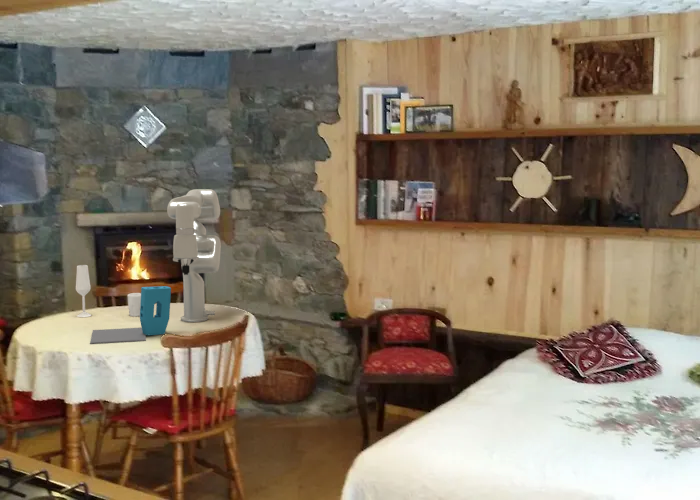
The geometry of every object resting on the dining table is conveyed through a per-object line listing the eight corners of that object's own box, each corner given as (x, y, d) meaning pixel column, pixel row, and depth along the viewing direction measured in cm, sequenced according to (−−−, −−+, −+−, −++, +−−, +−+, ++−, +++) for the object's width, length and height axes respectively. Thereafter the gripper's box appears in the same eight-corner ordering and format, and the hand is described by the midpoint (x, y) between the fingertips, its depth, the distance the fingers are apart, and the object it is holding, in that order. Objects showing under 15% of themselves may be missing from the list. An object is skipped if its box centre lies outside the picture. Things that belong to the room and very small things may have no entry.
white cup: (148, 314, 365) (148, 294, 364) (136, 317, 359) (135, 296, 357) (137, 312, 369) (136, 292, 368) (124, 315, 363) (123, 294, 361)
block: (143, 335, 322) (145, 289, 320) (138, 333, 326) (140, 287, 323) (169, 333, 330) (171, 288, 327) (164, 330, 333) (166, 286, 331)
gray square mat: (145, 328, 337) (145, 327, 337) (145, 340, 316) (145, 339, 316) (92, 331, 331) (92, 330, 331) (90, 344, 310) (90, 342, 310)
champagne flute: (86, 317, 357) (84, 267, 354) (73, 316, 359) (71, 266, 356) (94, 314, 364) (92, 265, 360) (82, 313, 365) (80, 264, 362)
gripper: (202, 230, 331) (202, 272, 333) (166, 231, 327) (167, 273, 329) (203, 232, 324) (204, 275, 326) (167, 233, 320) (168, 276, 322)
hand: (185, 274), depth 328 cm, fingers closed
